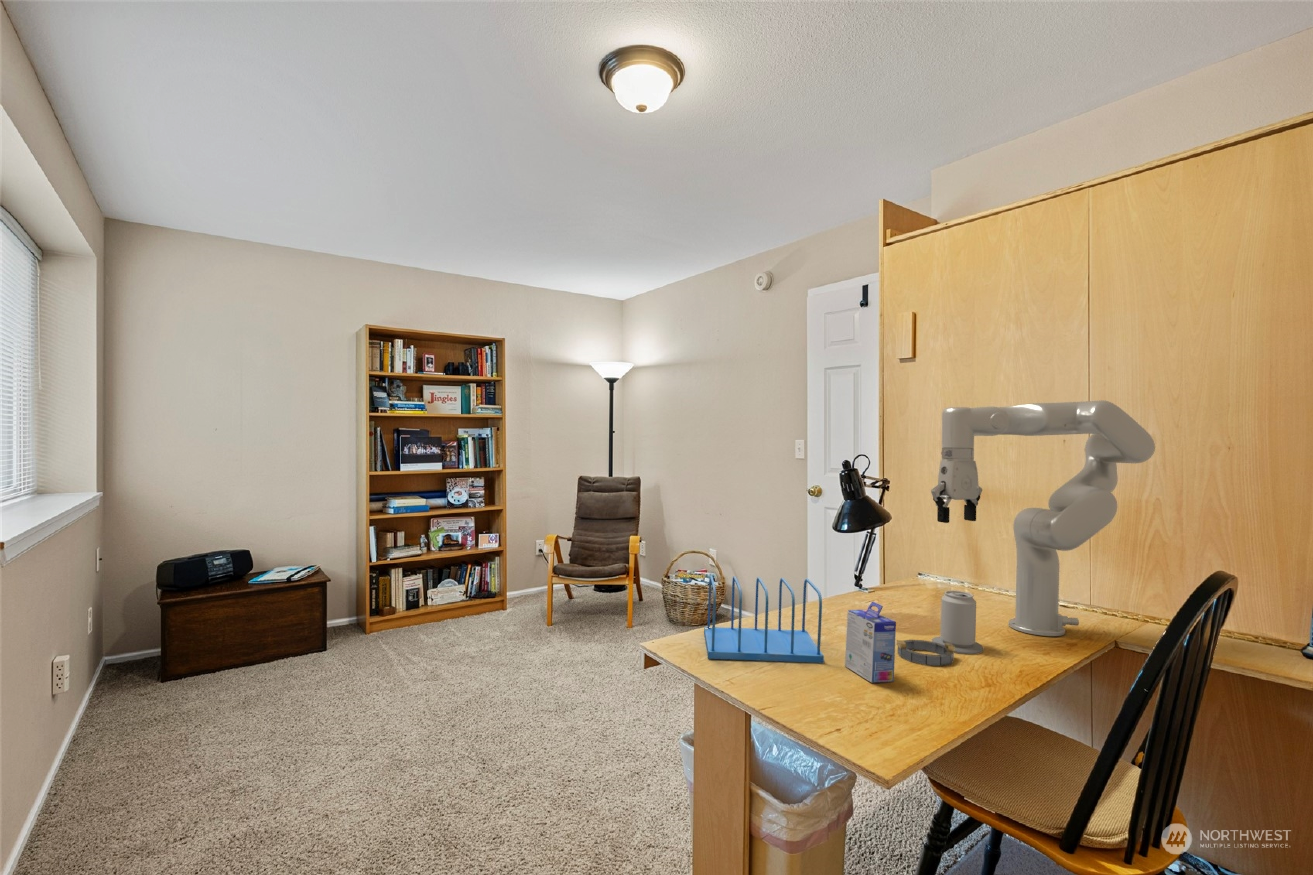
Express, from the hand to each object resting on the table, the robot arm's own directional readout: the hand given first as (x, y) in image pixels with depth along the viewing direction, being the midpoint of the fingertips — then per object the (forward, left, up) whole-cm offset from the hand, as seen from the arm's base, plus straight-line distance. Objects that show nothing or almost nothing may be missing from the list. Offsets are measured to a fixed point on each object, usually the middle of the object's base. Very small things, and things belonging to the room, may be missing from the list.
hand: (956, 521), depth 160 cm
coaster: (+4, +14, -28) cm, 31 cm away
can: (+4, +13, -28) cm, 31 cm away
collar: (+14, +23, -28) cm, 39 cm away
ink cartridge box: (+29, +36, -28) cm, 54 cm away
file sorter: (+51, +23, -28) cm, 63 cm away
